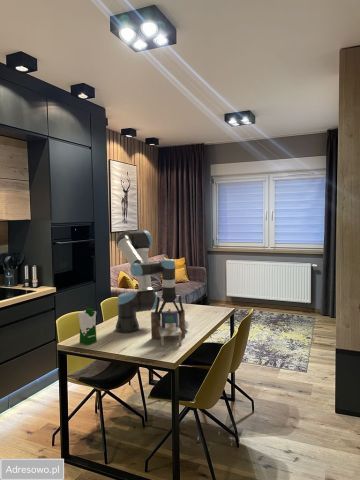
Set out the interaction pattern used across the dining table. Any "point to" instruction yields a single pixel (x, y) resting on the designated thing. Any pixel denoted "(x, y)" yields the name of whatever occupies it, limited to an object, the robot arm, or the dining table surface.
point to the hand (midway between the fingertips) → (169, 325)
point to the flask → (169, 317)
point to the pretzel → (186, 324)
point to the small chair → (167, 328)
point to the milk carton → (87, 326)
